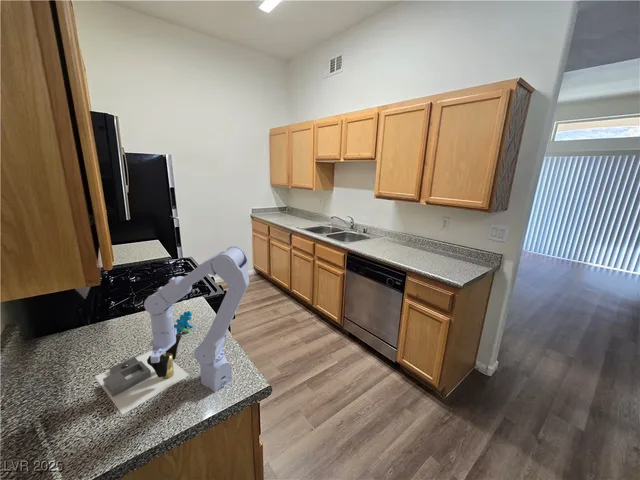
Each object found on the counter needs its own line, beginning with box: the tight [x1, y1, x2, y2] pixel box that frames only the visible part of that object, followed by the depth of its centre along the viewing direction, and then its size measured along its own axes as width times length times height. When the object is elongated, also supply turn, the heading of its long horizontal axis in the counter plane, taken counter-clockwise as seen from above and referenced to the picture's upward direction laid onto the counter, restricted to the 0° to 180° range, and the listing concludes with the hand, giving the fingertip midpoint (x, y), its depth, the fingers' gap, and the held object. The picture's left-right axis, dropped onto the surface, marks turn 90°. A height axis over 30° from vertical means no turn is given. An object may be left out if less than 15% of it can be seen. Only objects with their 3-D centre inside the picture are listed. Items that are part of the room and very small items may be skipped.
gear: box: [174, 310, 194, 335], centre depth 108 cm, size 11×6×10 cm
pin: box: [163, 352, 174, 379], centre depth 82 cm, size 3×3×7 cm
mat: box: [94, 350, 190, 415], centre depth 82 cm, size 22×18×1 cm
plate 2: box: [103, 361, 151, 397], centre depth 80 cm, size 7×10×2 cm
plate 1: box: [108, 357, 151, 390], centre depth 82 cm, size 12×7×2 cm, turn 55°
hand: (167, 367), depth 82 cm, fingers open, 7 cm apart
